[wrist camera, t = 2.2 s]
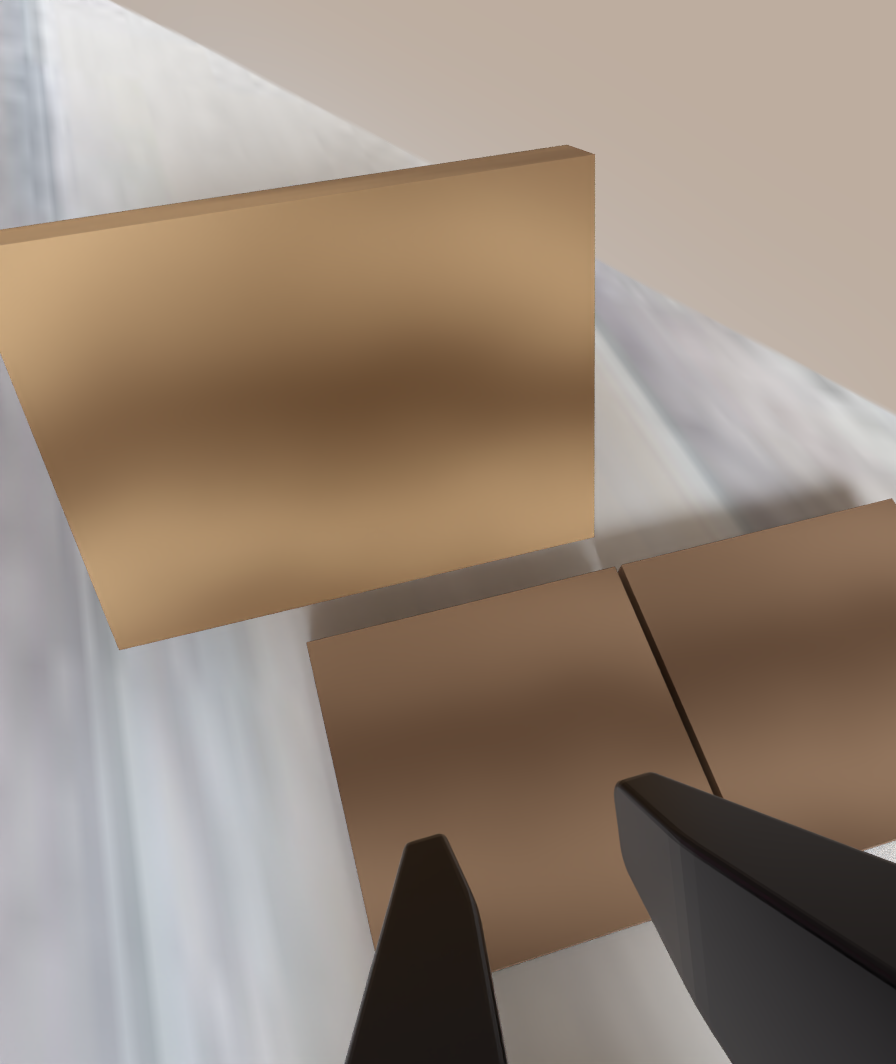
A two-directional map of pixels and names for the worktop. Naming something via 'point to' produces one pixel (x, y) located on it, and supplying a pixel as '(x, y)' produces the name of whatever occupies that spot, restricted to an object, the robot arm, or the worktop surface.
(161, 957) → the worktop surface
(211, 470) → the oak plank
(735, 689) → the weathered wooden board
